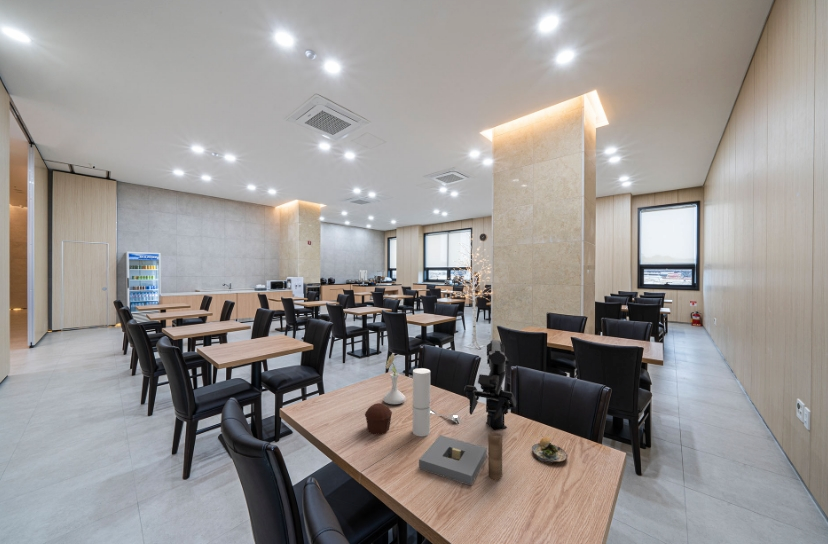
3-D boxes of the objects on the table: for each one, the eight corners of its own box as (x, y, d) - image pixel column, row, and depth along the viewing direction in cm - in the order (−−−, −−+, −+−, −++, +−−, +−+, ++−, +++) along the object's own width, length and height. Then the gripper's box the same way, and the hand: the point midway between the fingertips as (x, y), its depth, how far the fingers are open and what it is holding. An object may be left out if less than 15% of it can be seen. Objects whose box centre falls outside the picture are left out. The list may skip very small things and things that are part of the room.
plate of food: (553, 470, 105) (553, 447, 105) (524, 453, 115) (524, 432, 115) (574, 459, 111) (574, 438, 111) (545, 444, 121) (545, 424, 121)
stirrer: (421, 404, 148) (427, 401, 151) (421, 411, 148) (427, 408, 152) (457, 419, 135) (463, 416, 138) (456, 428, 135) (462, 424, 138)
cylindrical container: (432, 429, 131) (432, 369, 131) (427, 437, 124) (427, 374, 125) (415, 426, 133) (416, 367, 134) (410, 434, 127) (410, 372, 127)
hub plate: (440, 443, 121) (440, 435, 121) (486, 455, 112) (486, 447, 112) (418, 468, 105) (419, 459, 105) (471, 485, 96) (471, 475, 96)
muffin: (367, 422, 137) (367, 399, 137) (393, 423, 137) (393, 399, 137) (362, 436, 125) (362, 411, 125) (390, 437, 125) (390, 411, 125)
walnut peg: (489, 471, 103) (490, 431, 104) (502, 474, 102) (502, 434, 102) (486, 478, 100) (487, 437, 100) (499, 482, 98) (499, 440, 98)
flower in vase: (385, 396, 165) (386, 349, 166) (407, 398, 164) (407, 350, 164) (379, 407, 153) (380, 355, 153) (402, 408, 151) (403, 356, 151)
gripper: (466, 363, 124) (451, 397, 113) (512, 368, 112) (500, 406, 102) (475, 382, 128) (461, 416, 118) (521, 389, 117) (510, 427, 106)
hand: (482, 416), depth 111 cm, fingers open, 9 cm apart
